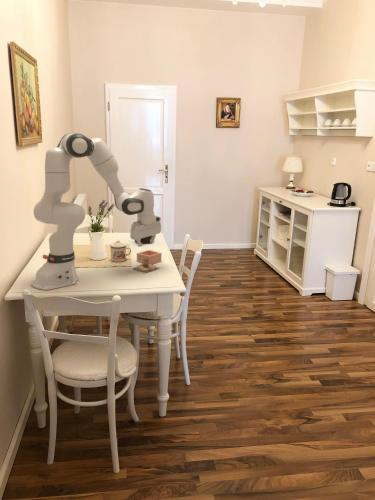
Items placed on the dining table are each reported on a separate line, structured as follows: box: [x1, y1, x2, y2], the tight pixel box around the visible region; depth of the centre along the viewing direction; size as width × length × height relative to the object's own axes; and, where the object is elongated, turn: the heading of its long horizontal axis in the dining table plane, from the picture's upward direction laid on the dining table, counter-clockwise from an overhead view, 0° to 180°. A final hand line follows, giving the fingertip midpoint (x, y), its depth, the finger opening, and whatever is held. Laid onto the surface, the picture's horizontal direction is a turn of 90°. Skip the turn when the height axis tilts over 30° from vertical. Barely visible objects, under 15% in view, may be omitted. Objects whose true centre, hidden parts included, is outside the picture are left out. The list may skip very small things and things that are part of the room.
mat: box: [132, 266, 160, 274], centre depth 221 cm, size 10×10×1 cm
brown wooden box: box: [134, 236, 153, 245], centre depth 270 cm, size 16×11×18 cm
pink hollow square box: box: [136, 249, 162, 265], centre depth 233 cm, size 10×10×5 cm
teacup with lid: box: [110, 239, 132, 263], centre depth 234 cm, size 12×9×12 cm
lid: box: [136, 259, 156, 272], centre depth 220 cm, size 10×10×5 cm
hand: (146, 244), depth 218 cm, fingers open, 8 cm apart
